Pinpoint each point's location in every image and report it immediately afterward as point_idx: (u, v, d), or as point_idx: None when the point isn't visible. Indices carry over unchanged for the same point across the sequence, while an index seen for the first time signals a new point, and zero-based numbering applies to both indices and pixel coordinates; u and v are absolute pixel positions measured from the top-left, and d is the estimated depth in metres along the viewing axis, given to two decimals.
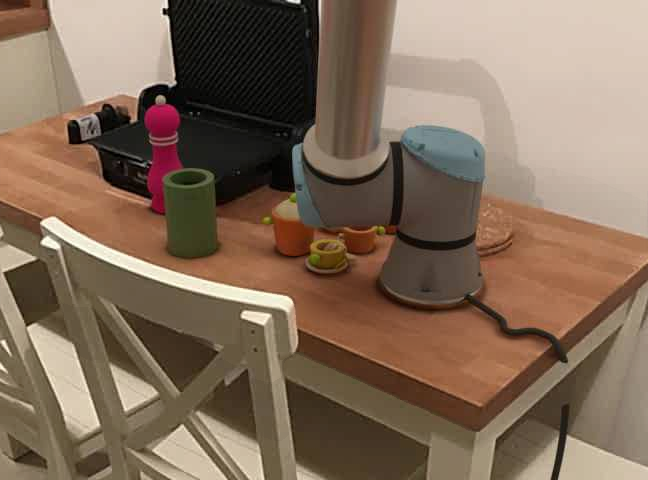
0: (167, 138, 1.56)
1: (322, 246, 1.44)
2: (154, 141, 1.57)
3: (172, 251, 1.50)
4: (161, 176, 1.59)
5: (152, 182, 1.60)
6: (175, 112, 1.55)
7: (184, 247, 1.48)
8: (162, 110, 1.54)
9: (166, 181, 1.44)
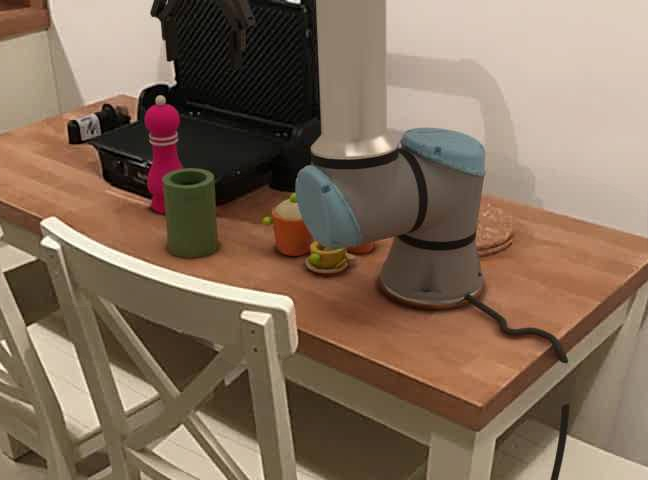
0: (167, 138, 1.56)
1: (322, 246, 1.44)
2: (154, 141, 1.57)
3: (172, 251, 1.50)
4: (161, 176, 1.59)
5: (152, 182, 1.60)
6: (175, 112, 1.55)
7: (184, 247, 1.48)
8: (162, 110, 1.54)
9: (166, 181, 1.44)
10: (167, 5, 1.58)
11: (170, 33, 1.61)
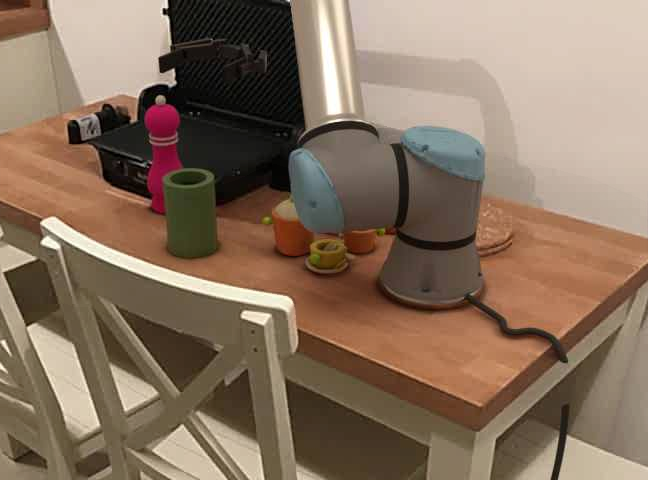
0: (167, 138, 1.56)
1: (322, 246, 1.44)
2: (154, 141, 1.57)
3: (172, 251, 1.50)
4: (161, 176, 1.59)
5: (152, 182, 1.60)
6: (175, 112, 1.55)
7: (184, 247, 1.48)
8: (162, 110, 1.54)
9: (166, 181, 1.44)
10: (192, 45, 1.68)
11: (177, 55, 1.65)
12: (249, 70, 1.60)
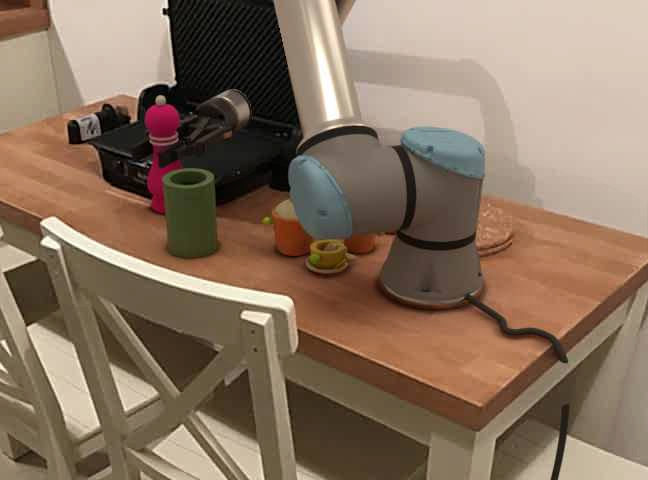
0: (167, 138, 1.56)
1: (322, 246, 1.44)
2: (154, 141, 1.56)
3: (172, 251, 1.50)
4: (161, 176, 1.59)
5: (152, 182, 1.60)
6: (175, 112, 1.55)
7: (184, 247, 1.48)
8: (163, 110, 1.54)
9: (166, 181, 1.44)
10: None
11: (150, 143, 1.59)
12: (186, 153, 1.58)
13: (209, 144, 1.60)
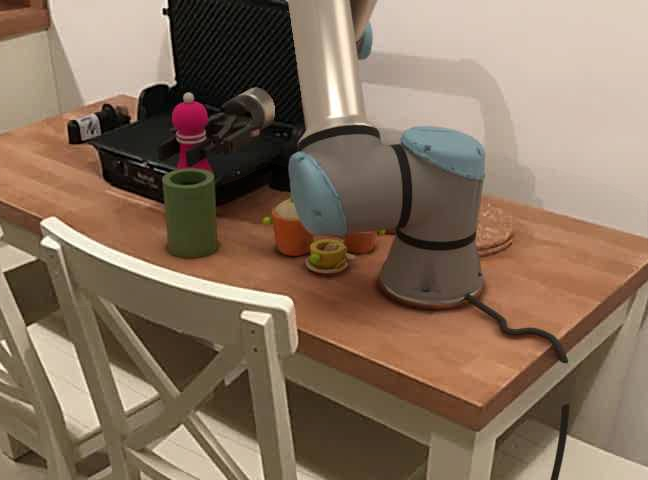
0: (195, 136, 1.52)
1: (322, 246, 1.44)
2: (182, 140, 1.53)
3: (172, 251, 1.50)
4: None
5: None
6: (203, 109, 1.51)
7: (184, 247, 1.48)
8: (191, 107, 1.50)
9: (166, 181, 1.44)
10: None
11: (177, 141, 1.56)
12: (214, 152, 1.54)
13: (237, 142, 1.56)
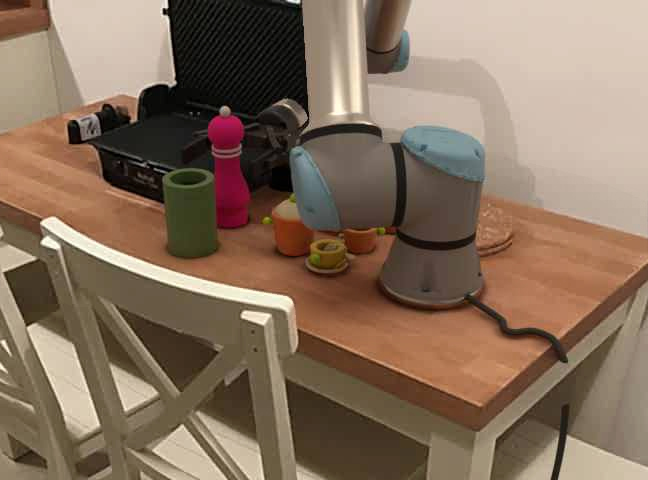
0: (231, 150, 1.50)
1: (322, 246, 1.44)
2: (217, 154, 1.51)
3: (172, 251, 1.50)
4: (223, 189, 1.53)
5: None
6: (240, 123, 1.49)
7: (184, 247, 1.48)
8: (227, 121, 1.48)
9: (166, 181, 1.44)
10: None
11: (200, 145, 1.56)
12: (277, 163, 1.51)
13: None
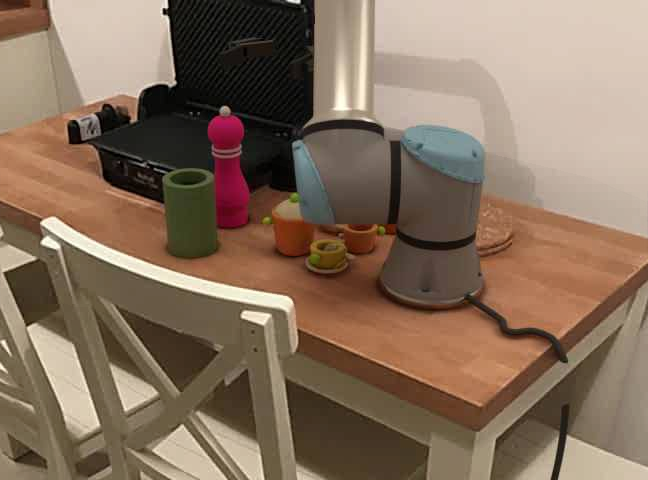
0: (231, 150, 1.50)
1: (322, 246, 1.44)
2: (217, 154, 1.51)
3: (172, 251, 1.50)
4: (223, 189, 1.53)
5: None
6: (240, 123, 1.49)
7: (184, 247, 1.48)
8: (227, 121, 1.48)
9: (166, 181, 1.44)
10: (253, 42, 1.61)
11: (237, 52, 1.58)
12: None
13: None
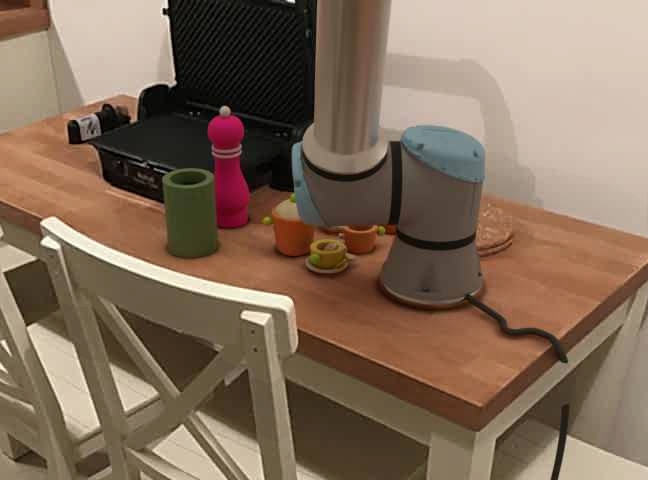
0: (231, 150, 1.50)
1: (322, 246, 1.44)
2: (217, 154, 1.51)
3: (172, 251, 1.50)
4: (223, 189, 1.53)
5: None
6: (240, 123, 1.49)
7: (184, 247, 1.48)
8: (227, 121, 1.48)
9: (166, 181, 1.44)
10: None
11: None
12: None
13: None
